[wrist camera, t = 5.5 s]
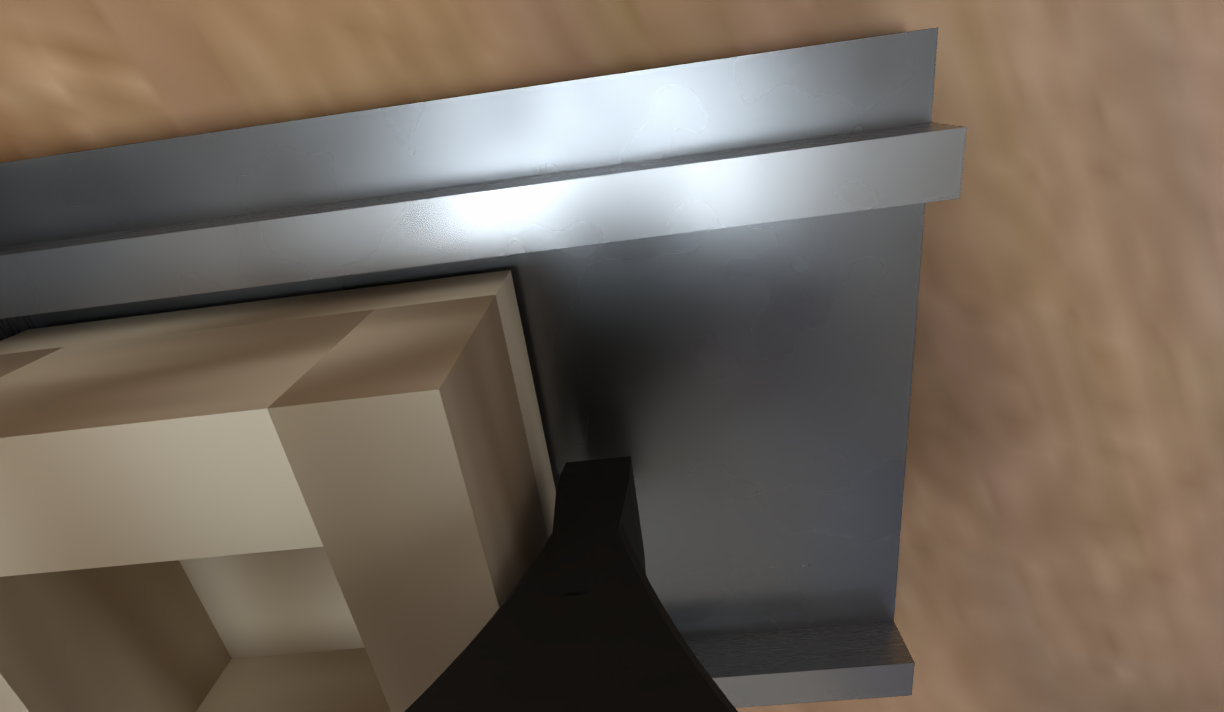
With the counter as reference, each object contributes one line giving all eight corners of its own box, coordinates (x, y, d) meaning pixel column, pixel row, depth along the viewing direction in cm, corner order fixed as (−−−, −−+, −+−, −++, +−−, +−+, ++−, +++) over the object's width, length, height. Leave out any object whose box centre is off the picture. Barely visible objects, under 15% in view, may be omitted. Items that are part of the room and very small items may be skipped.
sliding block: (510, 269, 9) (438, 388, 6) (587, 643, 13) (571, 871, 9) (28, 329, 10) (-315, 472, 6) (219, 672, 13) (65, 898, 10)
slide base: (906, 32, 9) (1323, -37, 4) (871, 652, 14) (1022, 1002, 9) (-73, 174, 10) (-867, 281, 5) (225, 701, 16) (8, 1039, 10)
